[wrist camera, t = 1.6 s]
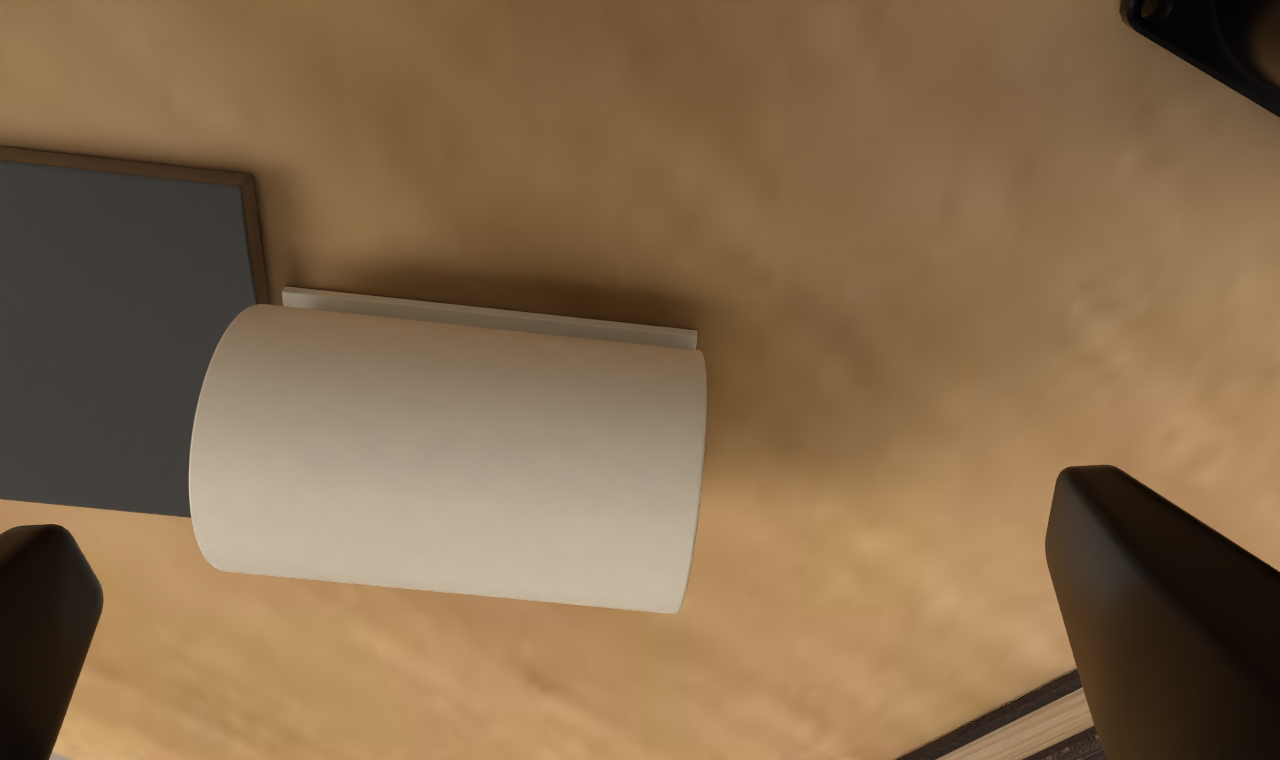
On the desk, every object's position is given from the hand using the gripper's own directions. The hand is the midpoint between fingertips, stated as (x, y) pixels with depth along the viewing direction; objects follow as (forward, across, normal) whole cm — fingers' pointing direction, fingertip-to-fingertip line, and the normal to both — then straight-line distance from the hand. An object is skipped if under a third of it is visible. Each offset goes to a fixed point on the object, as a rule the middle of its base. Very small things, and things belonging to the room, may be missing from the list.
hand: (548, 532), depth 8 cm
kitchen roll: (+10, +4, +7) cm, 13 cm away
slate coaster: (+13, +13, +5) cm, 20 cm away
